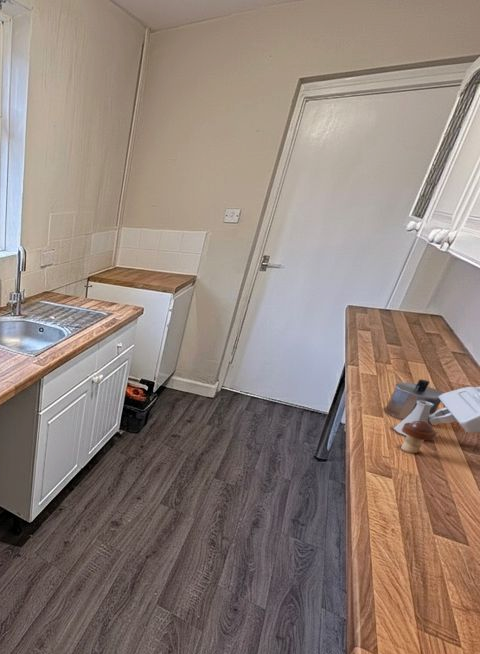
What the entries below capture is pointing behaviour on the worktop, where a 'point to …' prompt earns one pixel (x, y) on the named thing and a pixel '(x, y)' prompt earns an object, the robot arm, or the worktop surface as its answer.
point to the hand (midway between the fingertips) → (429, 420)
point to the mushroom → (416, 435)
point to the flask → (416, 415)
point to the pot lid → (419, 389)
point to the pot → (407, 404)
